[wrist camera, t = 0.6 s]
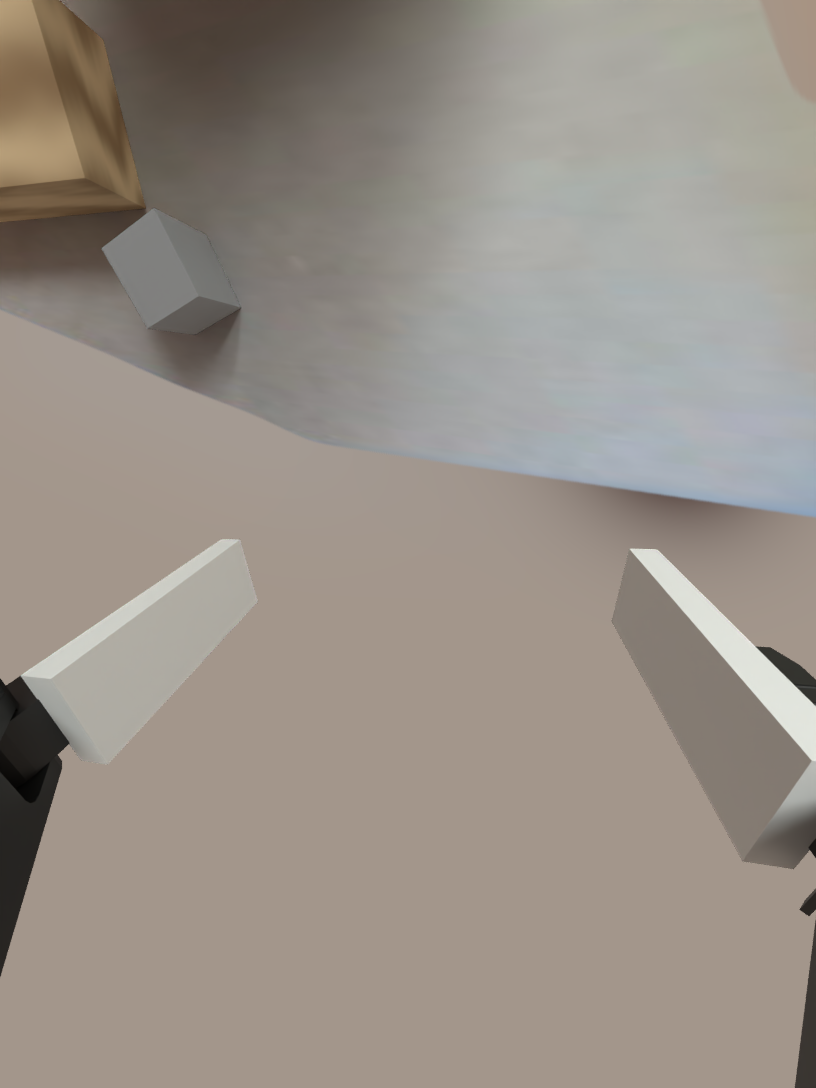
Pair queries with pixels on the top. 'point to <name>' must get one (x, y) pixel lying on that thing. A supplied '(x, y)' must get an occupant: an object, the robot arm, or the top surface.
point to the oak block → (59, 118)
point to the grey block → (171, 274)
